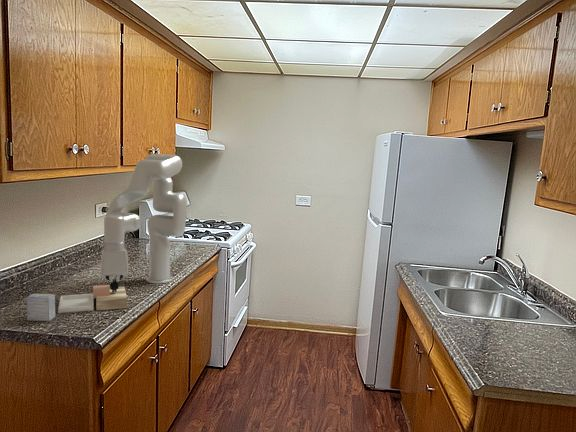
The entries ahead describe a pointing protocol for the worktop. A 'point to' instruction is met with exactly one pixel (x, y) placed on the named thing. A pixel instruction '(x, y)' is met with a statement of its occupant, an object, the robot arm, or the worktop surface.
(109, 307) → the beige rectangular block
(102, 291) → the tile
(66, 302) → the box
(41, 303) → the medicine box
